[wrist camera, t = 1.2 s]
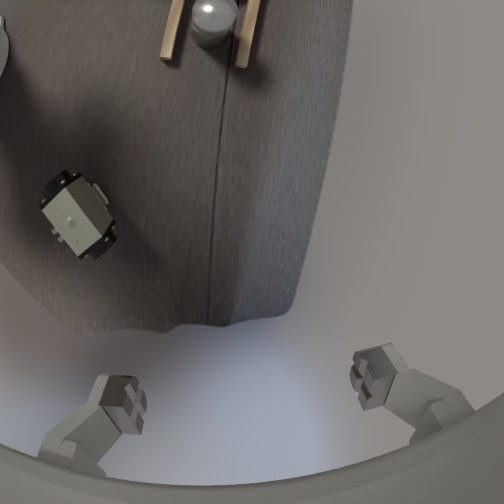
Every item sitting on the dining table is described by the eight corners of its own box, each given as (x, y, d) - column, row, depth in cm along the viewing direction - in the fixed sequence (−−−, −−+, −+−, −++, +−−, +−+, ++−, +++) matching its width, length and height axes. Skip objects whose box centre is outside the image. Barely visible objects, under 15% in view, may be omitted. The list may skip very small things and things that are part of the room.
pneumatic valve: (85, 158, 36) (51, 176, 25) (128, 217, 41) (110, 253, 31) (61, 180, 36) (24, 205, 26) (103, 236, 42) (81, 275, 31)
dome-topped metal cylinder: (185, 41, 31) (184, 19, 22) (200, 14, 29) (204, -13, 21) (217, 52, 33) (226, 34, 24) (232, 25, 31) (245, 2, 23)
